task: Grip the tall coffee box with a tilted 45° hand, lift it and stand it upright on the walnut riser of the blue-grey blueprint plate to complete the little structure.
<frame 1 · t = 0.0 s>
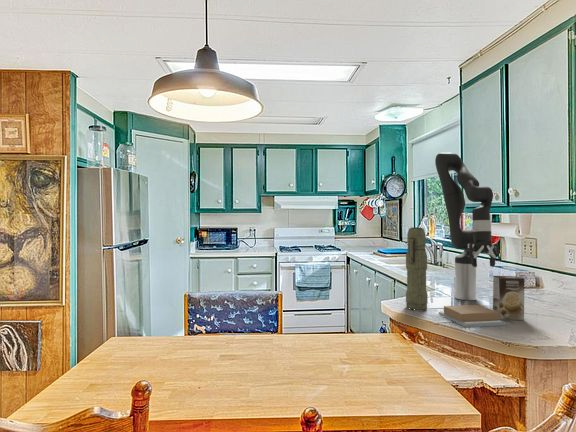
hand: (483, 266, 168), 17 cm above the table, tool pointing down, fingers open, 8 cm apart
thermos: (416, 308, 163), on the table
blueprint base: (470, 319, 145), on the table
coffee box: (508, 318, 147), on the table
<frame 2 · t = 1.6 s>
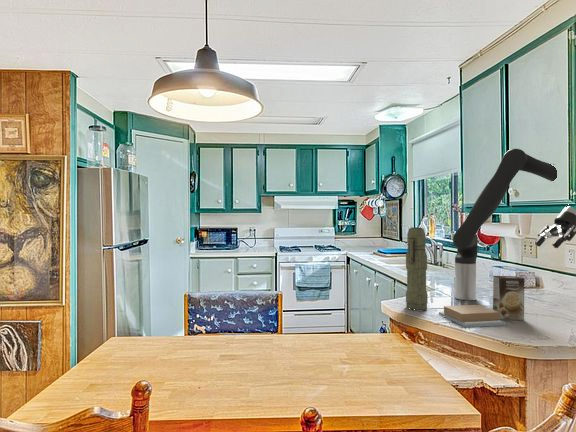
hand: (545, 245, 149), 28 cm above the table, tool tilted 45°, fingers open, 8 cm apart
nothing on the table moved.
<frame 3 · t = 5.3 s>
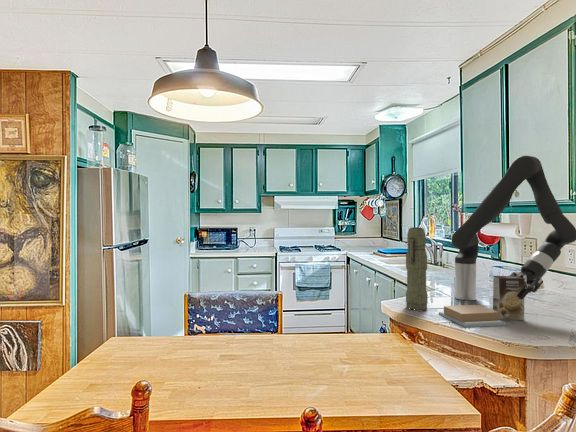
hand: (511, 295, 147), 9 cm above the table, tool tilted 45°, fingers open, 8 cm apart
coffee box: (508, 318, 147), on the table, touching gripper
everything else where it was.
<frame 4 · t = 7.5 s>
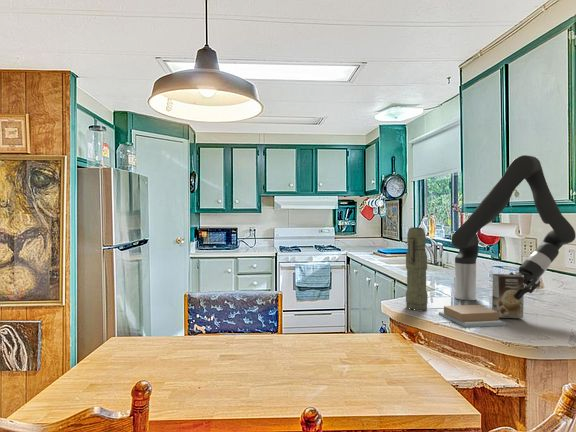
hand: (508, 296, 147), 9 cm above the table, tool tilted 45°, fingers closed on coffee box, 7 cm apart
coffee box: (507, 316, 147), on the table, touching gripper
everything else where it was.
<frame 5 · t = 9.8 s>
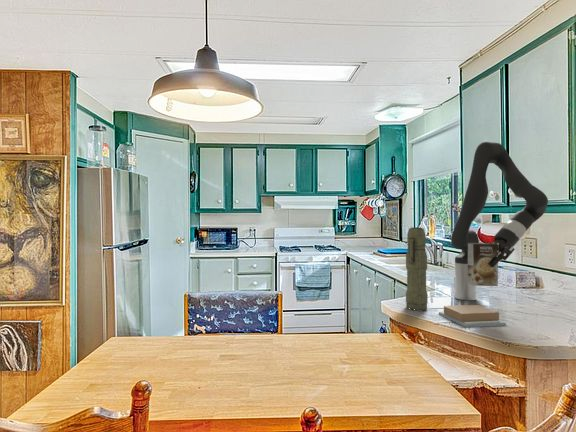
hand: (483, 264, 145), 21 cm above the table, tool tilted 45°, fingers closed on coffee box, 7 cm apart
coffee box: (482, 285, 146), point 13 cm above the table, touching gripper
everything else where it was.
when the fingers open (13 cm above the table, at t = 13.3 s): coffee box drops 1 cm, resting on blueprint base.
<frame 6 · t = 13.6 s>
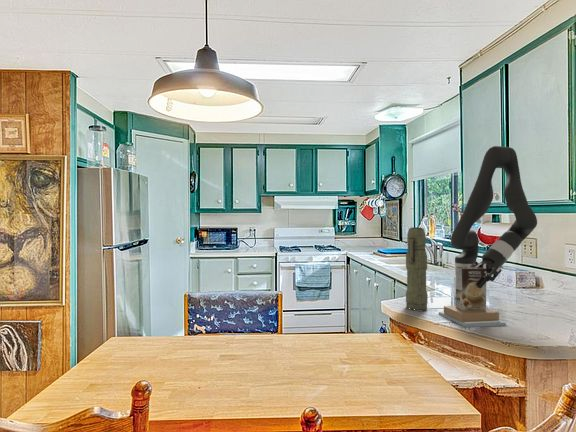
hand: (470, 284, 145), 13 cm above the table, tool tilted 45°, fingers open, 8 cm apart
coffee box: (470, 309, 145), point 4 cm above the table, touching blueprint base
everything else where it was.
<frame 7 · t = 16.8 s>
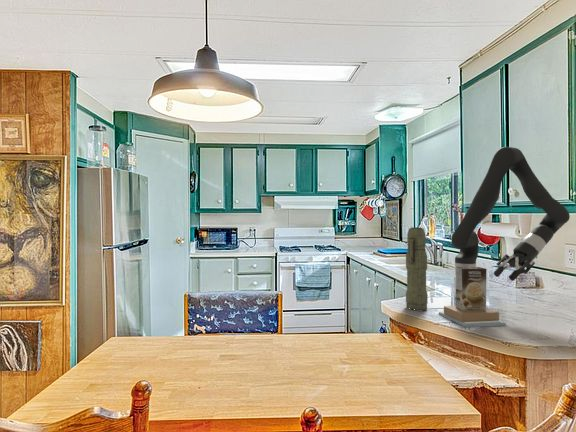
hand: (502, 277, 147), 16 cm above the table, tool tilted 45°, fingers open, 8 cm apart
nothing on the table moved.
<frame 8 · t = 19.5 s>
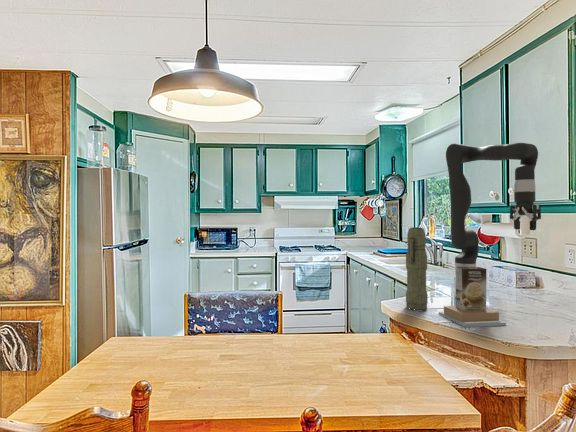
hand: (524, 229, 157), 34 cm above the table, tool pointing down, fingers open, 8 cm apart
nothing on the table moved.
at the end: coffee box inside the target area (0.1 cm from its centre), point 3.8 cm above the table; coffee box tilted 0°; the gripper is holding nothing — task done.
